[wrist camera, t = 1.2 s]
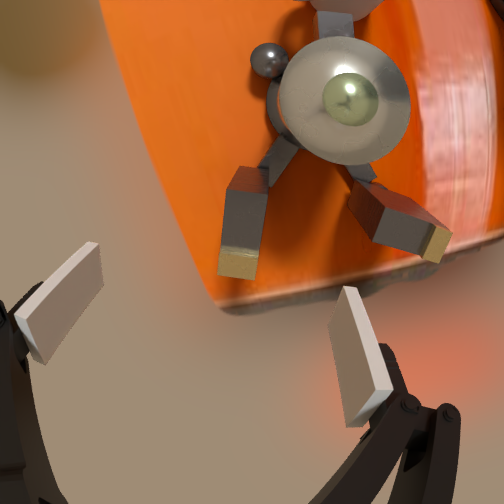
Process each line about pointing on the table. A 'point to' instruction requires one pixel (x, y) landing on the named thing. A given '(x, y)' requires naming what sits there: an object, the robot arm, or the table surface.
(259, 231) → the tan-tipped grey block
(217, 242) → the table surface
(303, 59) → the stand
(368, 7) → the cup
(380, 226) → the grey rectangular block
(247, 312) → the table surface
